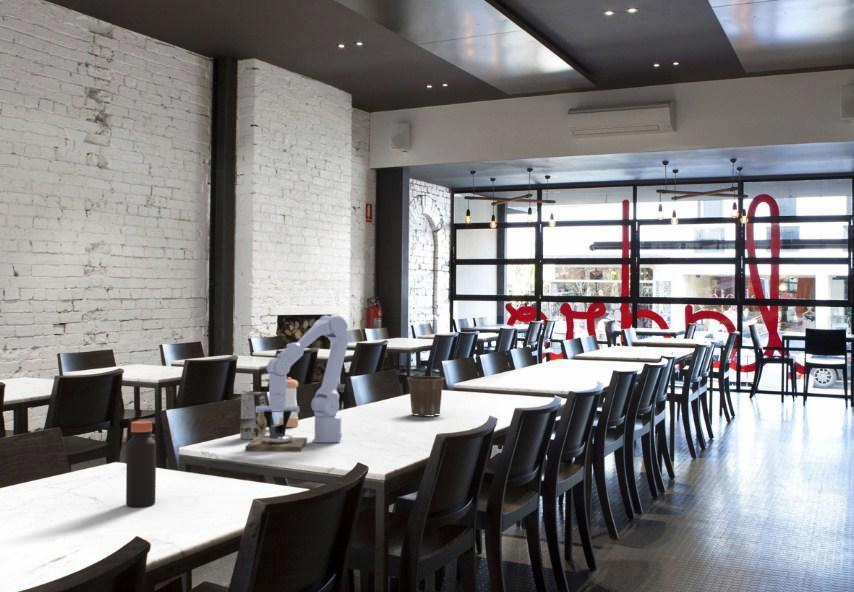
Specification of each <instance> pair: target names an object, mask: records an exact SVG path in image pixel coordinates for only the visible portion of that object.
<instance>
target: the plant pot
mask: <svg viewBox="0 0 854 592" xmlns="http://www.w3.org/2000/svg"><path fill="white" fill-rule="evenodd" d="M406 379H407V383H408V387H409V396H410V407H411V408H410V409H411V414H412V413H413V414H418V415H422V416H423V415H435V414H441V404H442V403H441V402H442V394H443V393H442V392H443V387H444V380H445V377H443V376H428V375H427V376H411V377H410V376H409V377H407V378H406Z"/></svg>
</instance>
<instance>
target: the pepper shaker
mask: <svg viewBox="0 0 854 592" xmlns="http://www.w3.org/2000/svg"><path fill="white" fill-rule="evenodd" d="M286 380H287V381H286V406H298V403H297V388H298V387H299V382H298V380H296V379H292V377H290V376H289V377H288V376H287V379H286ZM279 411H284V410H279ZM283 413H284V412H279V414H280V415H279V416H280V417H279V420H278V422H279V423H282V424H283ZM279 423H278V424H279ZM297 426H298V427H299V417H298V413H296V412H291V415H290V417H289V420H288V422H287V425H286V427H295V428H298V427H297Z"/></svg>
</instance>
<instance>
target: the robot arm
mask: <svg viewBox="0 0 854 592" xmlns="http://www.w3.org/2000/svg"><path fill="white" fill-rule="evenodd" d="M348 326H349V325H348V323H347V321H346V320H345V319H344V317H342V316H340V315H337V316H335V315H332V316H331V315H325V314H324V315H322V316H320V318H319V319H318V320H316V321H315V322H314V323H313V325H312V326H311V328H309V329H308V331H306V333H305V334H303V336H301V337H300V338H299V340H298V341H297V342H291V343H287V344H286V345H285V346H286V348H284V349H283V350H282V351H281V352H280V353H277V354H276V357H273V358H271V359H269V360H268V363H267V364H266V365H265V366H266V367H265V368H266V371H267V373H268V376H269V381H268V382H269V384H268V385H269V387H268V389H269V391H268V392H269V393H268V396H269V397H268V398H269V399H268V401H269V402H268V405H266V406H256V413H259V412H264V417H265V419H266V425H267V428H268V432H269V433H270V426H272V425H273V413H280V412H284V413H283V434H285V435H286V429H287V428H286V425H287V422H288V420H289V417H290V415H291V412H296V413H297V414H298V413H300V406H298V405H297V406H286V381H287V380H286V379H287V378H288V376H287V374H289V373H290V370H291V367H292V366H293V365H294V364H295V363H296V362H297V361H298V360H300V359H301V357H302V356H303V355H304V350H306V348H307V347H309V345H311V344H313V343H314V342H315V341H316V340H317V339H318V338H319V337H321V336H326V337H327V338H328V340H329V341H330V343H331V347H330V350H329V354H328V355H329V356H328V358H327V363H326V367H325V371H324V374H323V379H322V381H321V382H322V383H321V386H320V388H318V390H317V391H316V393H315V396H314V397H313V398H312V400H311V404H310V406H311V409H312V411H313V412H314V438H313V439H312V441H311V442H312V443H341V440H342V437H343V436H342V435H343V433H342V416H340V415H337V413H339V410H340V402H339V400H340V394H339V392H338V390H337V389H338V386H339V382H340V378H341V374H342V369H343V365H344V361H345V356H346V353H347V349H348V344H349V338H348ZM280 410H284V411H280Z"/></svg>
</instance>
